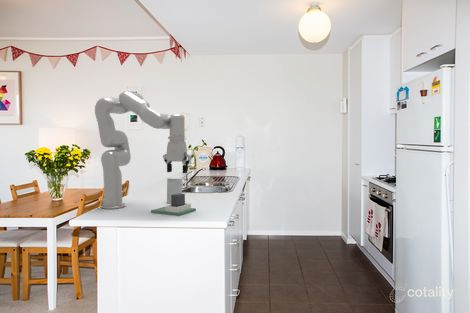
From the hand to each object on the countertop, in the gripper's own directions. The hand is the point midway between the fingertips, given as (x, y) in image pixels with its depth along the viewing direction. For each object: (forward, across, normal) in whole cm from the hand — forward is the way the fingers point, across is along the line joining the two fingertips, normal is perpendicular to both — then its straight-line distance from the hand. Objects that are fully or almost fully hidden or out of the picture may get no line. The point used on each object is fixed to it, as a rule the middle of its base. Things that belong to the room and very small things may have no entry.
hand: (177, 172), depth 192 cm
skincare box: (+21, -17, +21) cm, 34 cm away
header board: (+20, -2, 0) cm, 20 cm away
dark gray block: (+19, +1, 0) cm, 19 cm away
